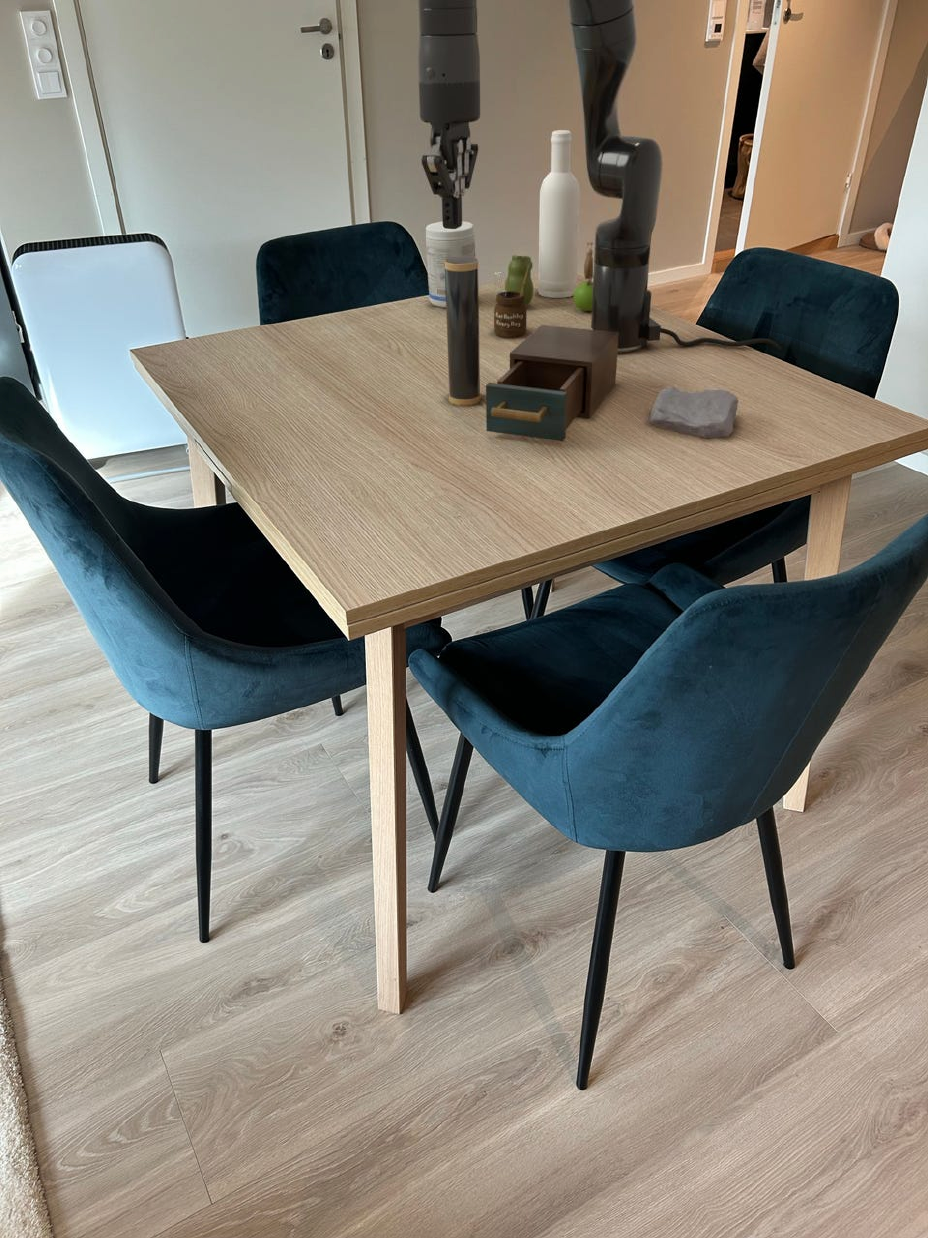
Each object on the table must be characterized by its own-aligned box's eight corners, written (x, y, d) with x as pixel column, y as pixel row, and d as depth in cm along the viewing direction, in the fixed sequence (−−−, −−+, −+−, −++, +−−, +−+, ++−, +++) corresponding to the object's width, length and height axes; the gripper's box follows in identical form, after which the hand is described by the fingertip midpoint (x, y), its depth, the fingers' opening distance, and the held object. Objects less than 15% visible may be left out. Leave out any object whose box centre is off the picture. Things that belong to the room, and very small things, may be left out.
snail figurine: (600, 305, 192) (604, 241, 185) (601, 314, 187) (604, 249, 180) (573, 304, 193) (575, 241, 186) (572, 314, 187) (575, 249, 181)
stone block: (729, 451, 137) (738, 412, 143) (731, 422, 133) (740, 384, 140) (644, 445, 140) (657, 407, 147) (645, 416, 137) (658, 379, 144)
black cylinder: (476, 392, 154) (474, 254, 142) (483, 403, 150) (481, 262, 138) (446, 395, 153) (441, 257, 141) (452, 407, 149) (448, 265, 137)
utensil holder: (495, 328, 181) (495, 261, 175) (529, 328, 180) (530, 261, 174) (492, 338, 176) (491, 269, 170) (526, 338, 176) (527, 270, 169)
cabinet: (589, 419, 144) (592, 362, 139) (509, 408, 148) (509, 353, 143) (615, 385, 155) (618, 331, 150) (540, 377, 159) (541, 324, 154)
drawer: (554, 452, 132) (555, 404, 128) (476, 441, 136) (475, 394, 132) (590, 407, 145) (592, 362, 141) (518, 398, 149) (518, 354, 145)
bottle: (551, 285, 205) (554, 127, 188) (583, 291, 201) (590, 129, 184) (530, 295, 199) (532, 132, 183) (563, 300, 195) (568, 134, 179)
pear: (501, 309, 191) (501, 256, 186) (510, 301, 195) (510, 250, 190) (528, 311, 190) (528, 258, 184) (537, 304, 194) (537, 251, 188)
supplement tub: (467, 293, 201) (465, 218, 193) (483, 305, 194) (482, 227, 186) (422, 299, 199) (418, 223, 190) (437, 311, 191) (434, 232, 183)
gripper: (455, 82, 112) (458, 240, 122) (497, 73, 122) (497, 219, 132) (397, 81, 115) (404, 236, 124) (443, 72, 125) (447, 216, 134)
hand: (452, 227), depth 128 cm, fingers closed
